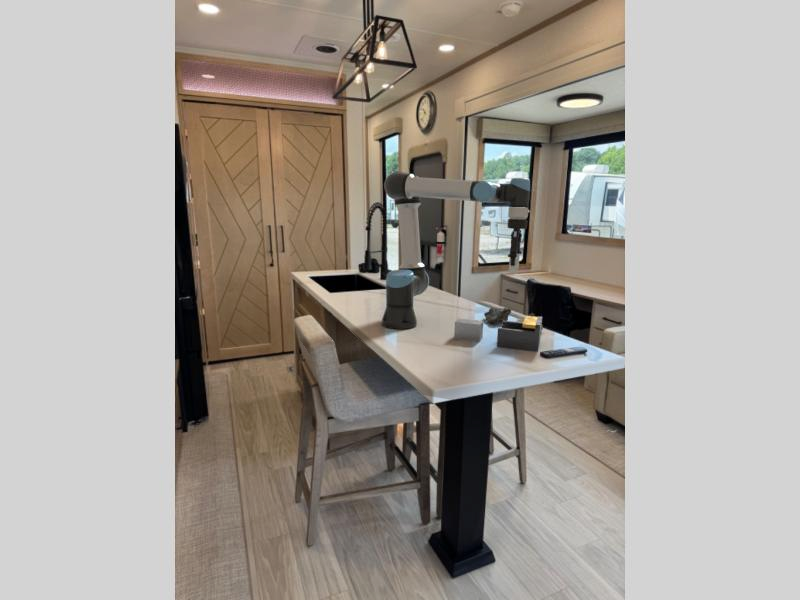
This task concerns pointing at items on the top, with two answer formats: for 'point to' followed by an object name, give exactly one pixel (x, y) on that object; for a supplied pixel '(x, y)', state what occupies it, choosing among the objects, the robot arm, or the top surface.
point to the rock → (497, 315)
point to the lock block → (468, 330)
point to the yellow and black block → (532, 316)
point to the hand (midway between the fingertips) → (513, 271)
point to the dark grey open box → (520, 334)
